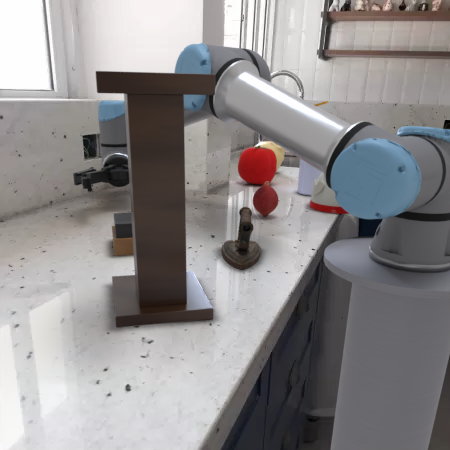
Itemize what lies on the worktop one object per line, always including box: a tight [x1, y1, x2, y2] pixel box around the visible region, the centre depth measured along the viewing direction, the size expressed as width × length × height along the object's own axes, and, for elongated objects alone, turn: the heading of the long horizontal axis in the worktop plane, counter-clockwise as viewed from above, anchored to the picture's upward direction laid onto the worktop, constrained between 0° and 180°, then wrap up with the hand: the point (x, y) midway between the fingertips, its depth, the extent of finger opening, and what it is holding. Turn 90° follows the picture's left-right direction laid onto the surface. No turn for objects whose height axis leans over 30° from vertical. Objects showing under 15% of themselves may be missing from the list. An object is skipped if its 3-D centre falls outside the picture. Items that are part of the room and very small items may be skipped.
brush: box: [111, 212, 134, 257], centre depth 93 cm, size 23×6×6 cm, turn 14°
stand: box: [95, 70, 215, 328], centre depth 60 cm, size 14×12×28 cm
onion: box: [252, 181, 280, 217], centre depth 110 cm, size 6×6×8 cm
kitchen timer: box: [309, 172, 351, 215], centre depth 119 cm, size 14×14×15 cm
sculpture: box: [253, 140, 286, 172], centre depth 172 cm, size 12×12×11 cm
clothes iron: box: [221, 206, 262, 270], centre depth 81 cm, size 7×11×10 cm, turn 0°
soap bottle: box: [297, 100, 329, 197], centre depth 134 cm, size 9×9×25 cm
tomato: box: [237, 145, 277, 186], centre depth 150 cm, size 12×13×12 cm
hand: (122, 184), depth 101 cm, fingers open, 13 cm apart
